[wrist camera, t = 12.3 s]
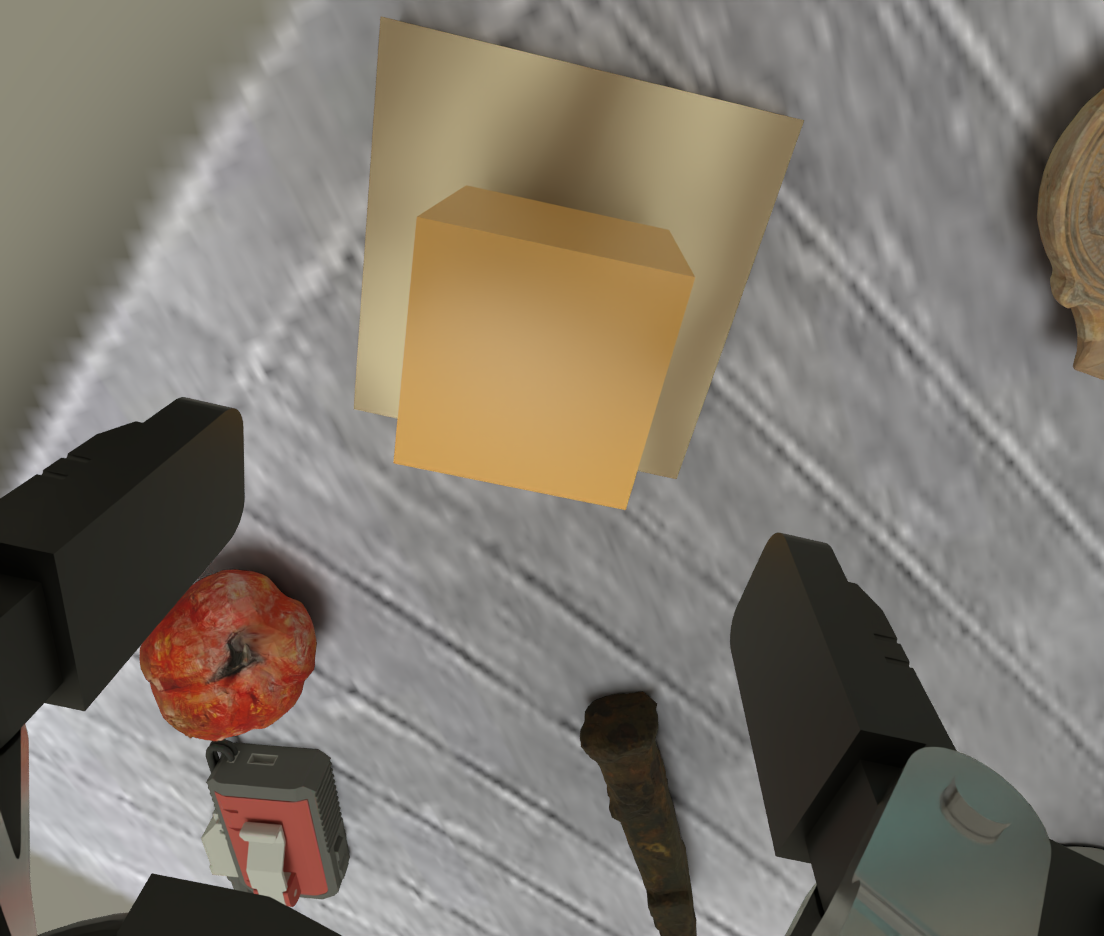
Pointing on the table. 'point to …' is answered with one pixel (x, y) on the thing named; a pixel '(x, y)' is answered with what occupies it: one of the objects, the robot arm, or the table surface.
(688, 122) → the cream base with peg
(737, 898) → the table surface
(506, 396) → the mustard yellow cube
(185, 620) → the pomegranate
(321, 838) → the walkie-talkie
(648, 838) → the hand tool
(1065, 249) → the oil lamp
